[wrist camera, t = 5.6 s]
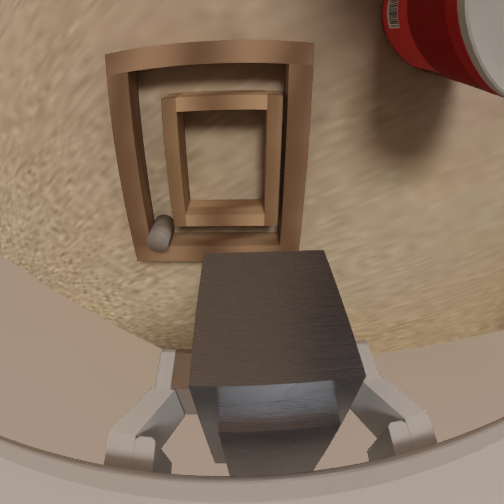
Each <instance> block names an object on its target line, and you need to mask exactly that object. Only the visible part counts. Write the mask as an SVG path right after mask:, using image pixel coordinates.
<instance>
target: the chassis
mask: <svg viewBox="0 0 504 504" xmlns="http://www.w3.org/2000/svg"><path fill="white" fill-rule="evenodd" d="M105 60H106V74H107V85H108V96H109V105H110V114H111V122H112V129H113V137H114V144H115V150H116V157H117V163H118V169H119V175H120V180H121V186H122V191H123V197H124V202H125V207H126V212H127V217H128V221H129V226H130V230H131V235H132V239H133V244H134V248H135V252H136V256H137V260H138V261H203V255H204V253H234V252H272V251H299V244H300V234H301V225H302V215H303V204H304V194H305V182H306V171H307V158H308V145H309V131H310V116H311V100H312V82H313V60H314V43H307V42H293V41H273V40H222V41H202V42H188V43H177V44H168V45H159V46H152V47H145V48H138V49H132V50H126V51H120V52H115V53H110V54H105ZM212 63H283V64H286V67H285V99H284V126H283V149H282V171H281V190H280V209H279V227H278V232H240V233H172V232H173V229H174V227H182V226H277V219H278V200H279V180H280V158H281V134H282V108H283V95H282V94H281V93H280V91H264V90H233V91H203V92H186V93H173V94H168V95H167V96H165V97H163V98H162V99H161V107H162V120H163V131H164V142H165V152H166V162H167V171H168V180H169V189H170V197H171V205H172V212H173V219H172V218H171V217H170V216H168V215H160V216H158V217H157V218H156V219H155V221H154V215H153V209H152V203H151V196H150V190H149V183H148V176H147V169H146V161H145V153H144V145H143V136H142V127H141V118H140V107H139V96H138V83H137V70H145V69H152V68H161V67H170V66H181V65H195V64H212ZM239 109H258V110H265V136H264V180H263V200H190V191H189V180H188V168H187V156H186V142H185V128H184V111H203V110H239Z"/></svg>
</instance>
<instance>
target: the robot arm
mask: <svg viewBox="0 0 504 504" xmlns="http://www.w3.org/2000/svg"><path fill="white" fill-rule="evenodd" d="M356 344H357V348H358V351H359V354H360V357H361V360H362V364H363V367H364V370H365V373H366V377H365V379H364V381H363V383H362V385H361V387H360V389H359V391H358V393H357V395H356V397H355V399H354V401H353V403H352V405H351V407H350V409H351V410H352V411H353V412H354V413H355V415H356V416H357V417H358V418H359V419H360V420H361V421H362V422H363V423H364V424H365V426H366V427H367V428H368V429H369V430H370V431H371V432H372V433H373V434H374V435H375V436H376V437H377V440H376V441H375V442H374V444H373V445H372V446H371V447H370V448H369V449H368V451H367V452H368V457H369V462H365V463H360V464H354V465H349V466H343V467H337V468H331V469H324V470H317V471H309V472H300V473H290V474H277V475H261V476H194V475H178V474H171V468H172V463H171V462H170V460H169V459H168V457H166V455H165V454H164V452H163V451H162V449H161V448H162V447H163V445H164V444H165V443H166V441H167V440H168V439H169V437H170V436H171V435H172V433H173V432H174V430H175V429H176V427H177V426H178V425H179V423H180V422H181V421H182V419H183V418H184V417H185V414H197V411H196V408H195V405H194V402H193V398H192V395H191V392H190V389H189V376H190V366H191V356H192V350H185V349H162V352H161V354H160V361H159V366H158V372H157V378H156V384H155V388H151V389H150V390H149V391H148V392H147V393H146V394H145V395H144V396H143V397H142V398H141V399H140V400H139V401H138V402H137V403H136V405H134V406H133V408H132V409H131V410H130V411H129V412H128V413H127V414H126V415H125V416H124V417H123V418H122V419H121V420H120V421H119V422H118V423H117V424H116V426H114V427H113V429H112V430H111V431H110V434H109V439H108V444H107V449H106V455H105V461H104V465H102V464H96V463H92V462H87V461H83V460H78V459H74V458H70V457H66V456H62V455H58V454H55V453H51V452H47V451H44V450H41V449H37V448H34V447H31V446H28V445H25V444H22V443H19V442H16V441H13V440H10V439H8V438H5V437H2V436H0V504H504V417H502V418H500V419H498V420H496V421H494V422H492V423H489V424H487V425H484V426H482V427H480V428H477V429H475V430H472V431H470V432H467V433H465V434H462V435H460V436H457V437H454V438H451V439H448V440H445V441H442V442H439V443H437V440H436V437H435V434H434V431H433V428H432V425H431V422H430V419H429V417H428V414H427V412H425V411H424V410H423V409H422V408H421V407H419V406H418V405H417V404H416V403H415V402H413V401H412V400H411V399H410V398H409V397H407V396H406V395H405V394H403V393H402V392H401V391H400V390H399V389H398V388H397V387H395V386H394V385H393V384H392V383H390V382H389V381H388V380H387V379H386V378H384V377H379V374H378V370H377V368H376V365H375V362H374V359H373V356H372V353H371V350H370V347H369V345H368V342H367V341H366V340H363V341H356Z"/></svg>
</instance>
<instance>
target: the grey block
mask: <svg viewBox="0 0 504 504" xmlns="http://www.w3.org/2000/svg"><path fill="white" fill-rule="evenodd" d="M365 377H366V373H365V370H364V367H363V364H362V360H361V357H360V354H359V351H358V348H357V344H356V341H355V338H354V335H353V332H352V329H351V326H350V323H349V320H348V317H347V314H346V311H345V308H344V305H343V302H342V299H341V297H340V294H339V291H338V288H337V285H336V282H335V280H334V277H333V274H332V271H331V268H330V266H329V263H328V260H327V258H326V255H325V252H324V250H309V251H272V252H234V253H204V255H203V262H202V270H201V278H200V286H199V294H198V302H197V310H196V319H195V328H194V337H193V346H192V356H191V366H190V376H189V389H190V392H191V395H192V398H193V402H194V405H195V408H196V411H197V414H198V417H199V420H200V423H201V425H202V428H203V431H204V434H205V437H206V440H207V442H208V445H209V448H210V451H211V453H212V456H213V458H214V461H215V463H227V467H228V470H229V474H230V476H261V475H277V474H290V473H300V472H309V471H313V470H314V468H315V467H316V465H317V463H318V462H319V460H320V459H321V457H322V456H323V454H324V453H325V451H326V449H327V448H328V446H329V444H330V443H331V441H332V439H333V438H334V436H335V434H336V432H337V431H338V429H339V427H340V425H341V424H342V422H343V420H344V418H345V416H346V414H347V412H348V411H349V409H350V407H351V405H352V403H353V401H354V399H355V397H356V395H357V393H358V391H359V389H360V387H361V385H362V383H363V381H364V379H365Z"/></svg>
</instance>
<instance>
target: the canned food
mask: <svg viewBox="0 0 504 504" xmlns="http://www.w3.org/2000/svg"><path fill="white" fill-rule="evenodd" d="M381 16H382V25H383V28H384V32H385V34H386V37H387V39H388V41H389V43H390V44H391V46H392V47H393V49H394V50H395V51H396V52H397V53H398V54H399V56H400V57H401V58H402V59H404V60H405V61H406V62H407V63H408V64H410V65H411V66H413V67H415V68H416V69H418V70H421V71H424V72H426V73H430V74H434V75H437V76H441V77H444V78H448V79H451V80H454V81H458V82H461V83H464V84H467V85H470V86H473V87H475V88H478V89H481V90H484V91H487V92H489V93H492V94H495V95H498V96H501V97H503V98H504V0H384V3H383V6H382V15H381Z"/></svg>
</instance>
